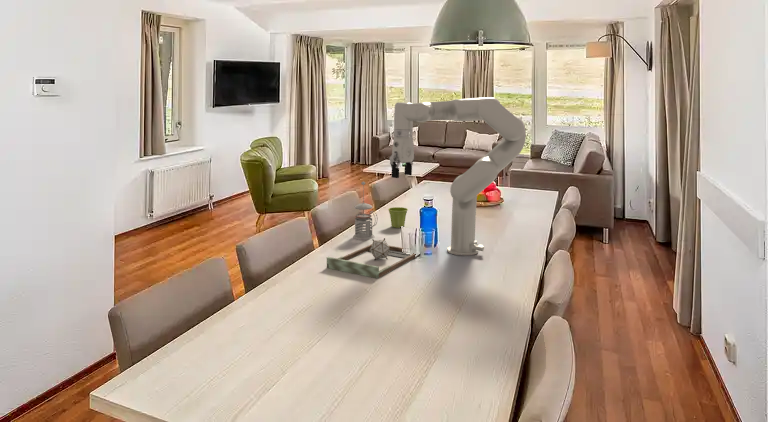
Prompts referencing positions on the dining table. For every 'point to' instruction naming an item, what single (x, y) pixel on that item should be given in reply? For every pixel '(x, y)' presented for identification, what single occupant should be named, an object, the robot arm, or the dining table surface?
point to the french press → (363, 221)
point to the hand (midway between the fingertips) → (401, 176)
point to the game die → (379, 249)
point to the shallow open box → (366, 269)
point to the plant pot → (397, 216)
